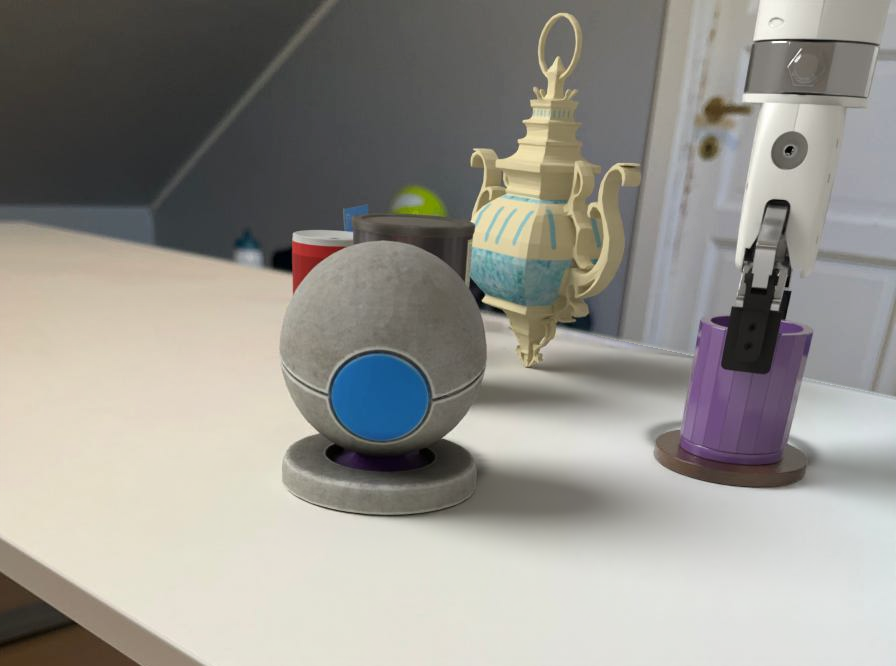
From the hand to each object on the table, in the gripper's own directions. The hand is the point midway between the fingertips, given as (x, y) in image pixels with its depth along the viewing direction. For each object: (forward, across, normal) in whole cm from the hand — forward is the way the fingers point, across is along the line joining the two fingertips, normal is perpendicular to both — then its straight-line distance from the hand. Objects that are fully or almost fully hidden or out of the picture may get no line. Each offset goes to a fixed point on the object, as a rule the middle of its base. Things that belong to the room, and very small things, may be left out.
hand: (751, 357), depth 69 cm
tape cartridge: (+8, +34, +45) cm, 57 cm away
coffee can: (+8, +7, +29) cm, 31 cm away
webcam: (+8, -17, +21) cm, 28 cm away
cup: (+7, 0, 0) cm, 7 cm away
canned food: (+8, +18, +42) cm, 46 cm away
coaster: (+8, 0, 0) cm, 8 cm away
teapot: (+8, +22, +22) cm, 32 cm away
